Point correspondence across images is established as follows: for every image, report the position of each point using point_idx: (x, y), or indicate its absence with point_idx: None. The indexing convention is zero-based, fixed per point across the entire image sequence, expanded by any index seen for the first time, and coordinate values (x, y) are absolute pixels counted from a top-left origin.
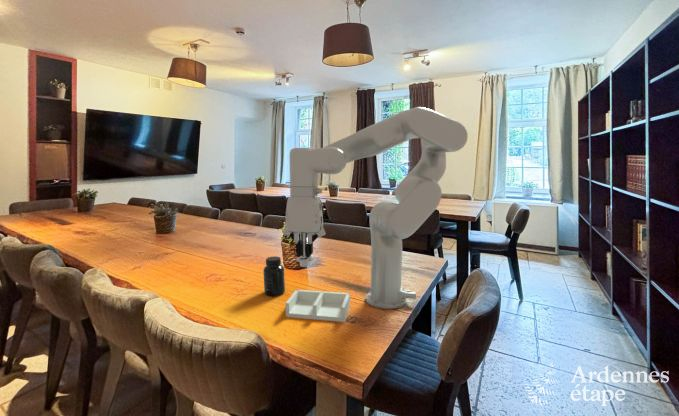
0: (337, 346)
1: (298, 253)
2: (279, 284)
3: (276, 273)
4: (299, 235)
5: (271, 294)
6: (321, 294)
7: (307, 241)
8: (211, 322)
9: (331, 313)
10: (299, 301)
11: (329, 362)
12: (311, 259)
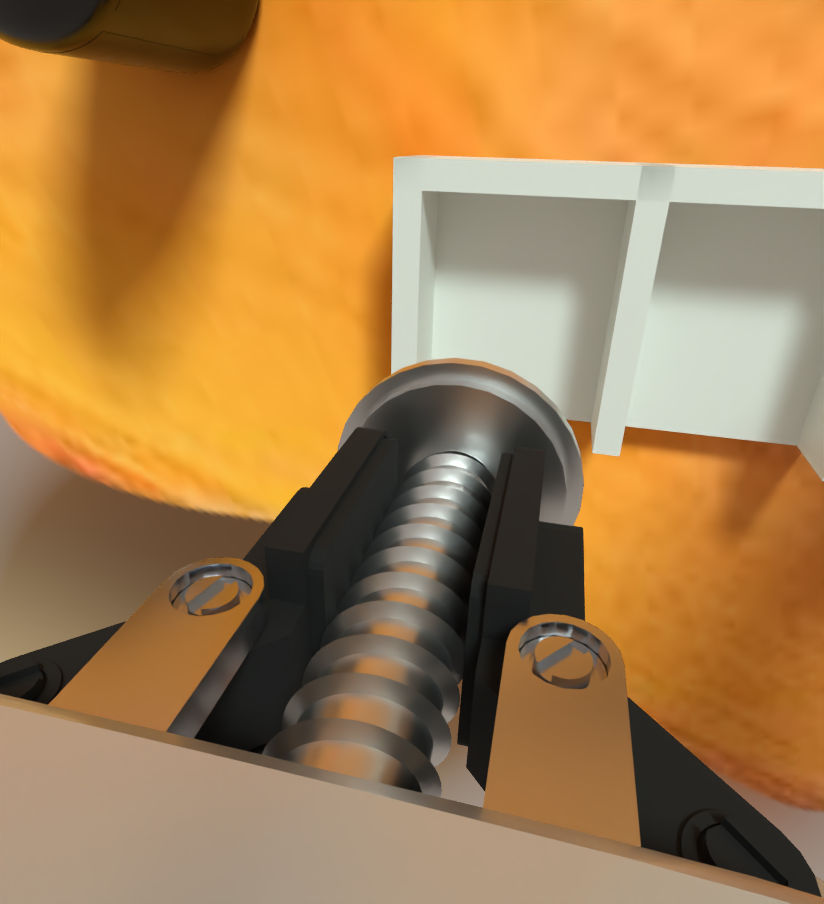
0: (740, 655)
1: None
2: (197, 22)
3: (106, 26)
4: (185, 706)
5: (189, 72)
6: (649, 246)
7: (468, 768)
8: (87, 463)
9: (724, 391)
10: (452, 209)
11: (697, 742)
12: (562, 510)
